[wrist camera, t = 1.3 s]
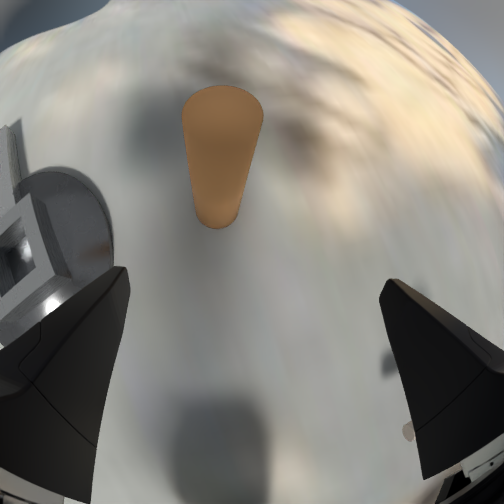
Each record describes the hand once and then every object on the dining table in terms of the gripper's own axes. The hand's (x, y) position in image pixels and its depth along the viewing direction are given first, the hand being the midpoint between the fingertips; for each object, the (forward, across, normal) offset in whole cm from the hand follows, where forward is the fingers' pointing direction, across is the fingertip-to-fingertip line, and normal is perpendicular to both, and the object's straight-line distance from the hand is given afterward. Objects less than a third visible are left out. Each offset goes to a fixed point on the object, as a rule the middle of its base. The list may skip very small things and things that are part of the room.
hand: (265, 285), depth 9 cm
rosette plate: (+13, +22, +6) cm, 26 cm away
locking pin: (+15, +2, +4) cm, 15 cm away
